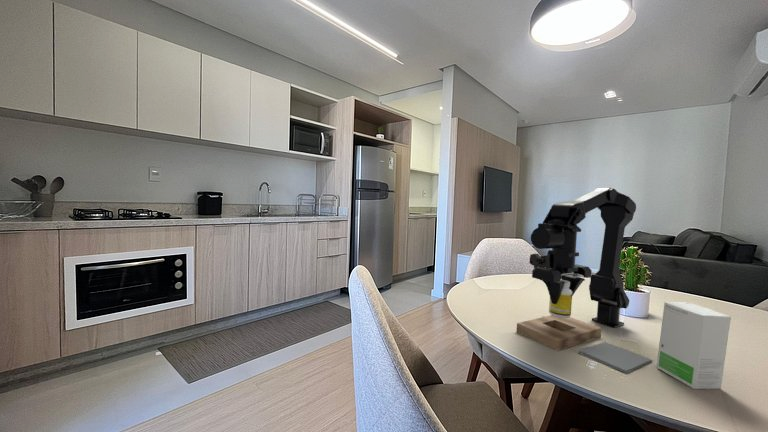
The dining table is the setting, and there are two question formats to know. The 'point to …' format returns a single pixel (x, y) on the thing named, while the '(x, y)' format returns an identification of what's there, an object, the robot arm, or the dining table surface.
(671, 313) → the skincare box
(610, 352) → the rubber mat
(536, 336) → the wooden block with hole
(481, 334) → the dining table surface
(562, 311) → the supplement bottle
